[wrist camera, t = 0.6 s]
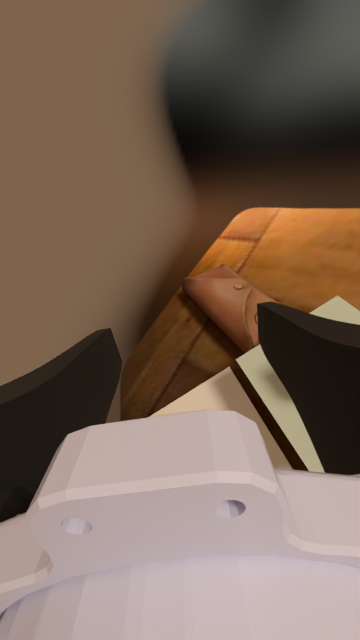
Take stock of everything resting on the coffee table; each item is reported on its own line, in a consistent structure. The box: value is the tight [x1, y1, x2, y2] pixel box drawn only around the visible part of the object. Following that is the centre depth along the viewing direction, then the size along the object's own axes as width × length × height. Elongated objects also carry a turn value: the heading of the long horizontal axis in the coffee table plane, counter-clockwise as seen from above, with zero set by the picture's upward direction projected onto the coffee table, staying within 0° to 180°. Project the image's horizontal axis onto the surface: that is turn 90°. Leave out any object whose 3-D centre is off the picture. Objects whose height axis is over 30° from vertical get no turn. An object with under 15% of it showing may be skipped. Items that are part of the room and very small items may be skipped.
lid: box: [236, 296, 360, 473], centre depth 19 cm, size 12×12×4 cm
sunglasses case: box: [182, 264, 280, 354], centre depth 34 cm, size 18×7×7 cm
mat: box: [148, 367, 293, 470], centre depth 25 cm, size 16×13×1 cm
